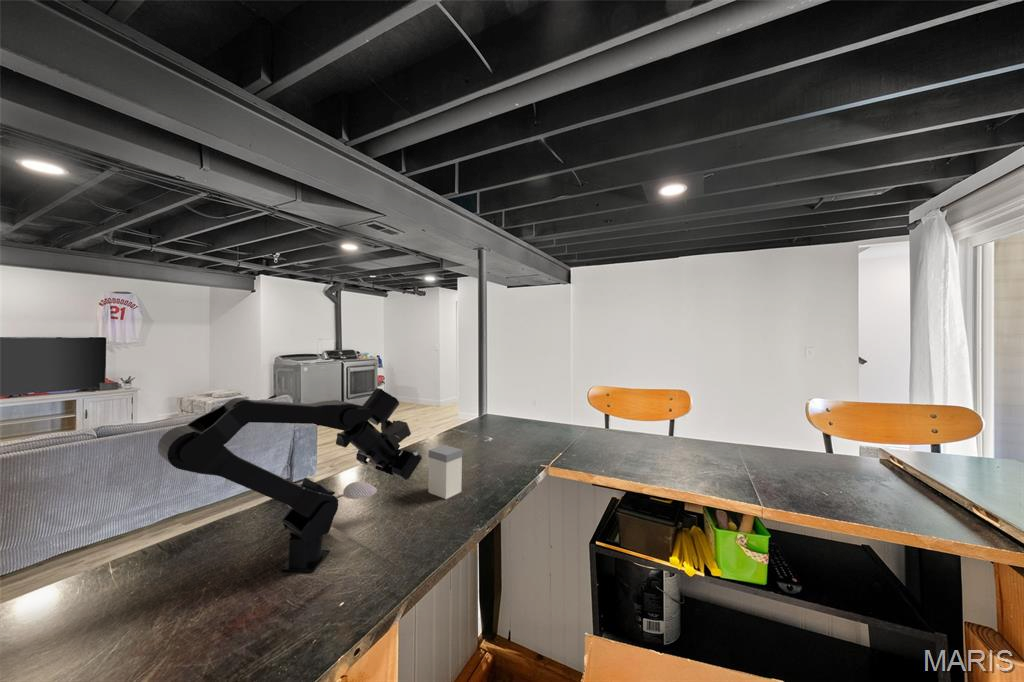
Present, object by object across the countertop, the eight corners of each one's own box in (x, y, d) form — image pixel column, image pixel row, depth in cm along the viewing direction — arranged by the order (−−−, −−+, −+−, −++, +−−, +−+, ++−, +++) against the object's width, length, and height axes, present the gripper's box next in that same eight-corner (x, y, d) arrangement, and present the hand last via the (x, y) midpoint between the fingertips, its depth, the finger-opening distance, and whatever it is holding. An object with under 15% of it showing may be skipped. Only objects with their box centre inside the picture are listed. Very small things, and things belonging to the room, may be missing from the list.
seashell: (353, 478, 108) (383, 473, 107) (356, 496, 108) (387, 492, 107) (330, 491, 98) (364, 486, 97) (334, 511, 98) (367, 507, 97)
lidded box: (445, 499, 99) (446, 455, 98) (427, 492, 103) (428, 450, 103) (461, 491, 104) (462, 449, 104) (444, 485, 108) (444, 445, 108)
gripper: (416, 417, 83) (450, 454, 92) (368, 407, 94) (402, 441, 102) (385, 460, 76) (424, 496, 85) (337, 444, 87) (377, 477, 96)
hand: (407, 475), depth 92 cm, fingers closed
